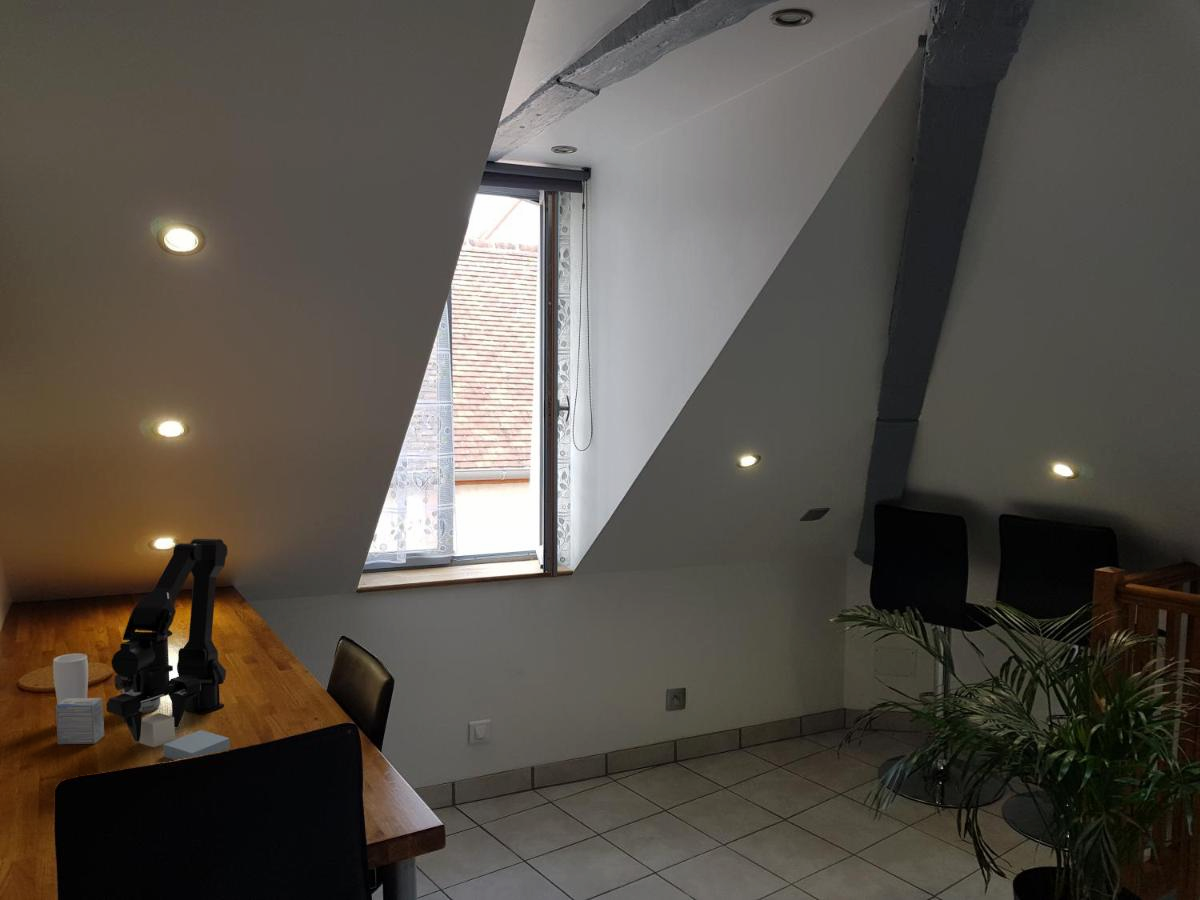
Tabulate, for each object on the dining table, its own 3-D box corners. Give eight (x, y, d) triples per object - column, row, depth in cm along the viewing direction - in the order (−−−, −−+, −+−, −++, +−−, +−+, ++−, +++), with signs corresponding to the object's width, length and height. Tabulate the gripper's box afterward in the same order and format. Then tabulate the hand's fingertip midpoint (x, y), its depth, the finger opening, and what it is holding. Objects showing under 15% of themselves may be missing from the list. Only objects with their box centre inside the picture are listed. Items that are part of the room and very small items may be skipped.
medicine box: (105, 736, 211) (103, 697, 210) (95, 744, 207) (93, 704, 206) (67, 737, 211) (65, 697, 210) (57, 745, 206) (54, 704, 206)
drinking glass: (86, 727, 216) (83, 660, 215) (52, 730, 214) (49, 663, 213) (93, 716, 223) (90, 652, 221) (60, 719, 221) (56, 654, 219)
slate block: (201, 743, 208) (200, 730, 208) (229, 752, 204) (229, 738, 203) (163, 758, 200) (163, 744, 200) (192, 767, 196) (191, 753, 196)
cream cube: (159, 735, 212) (159, 712, 211) (174, 739, 209) (174, 717, 209) (138, 743, 208) (137, 720, 207) (153, 747, 205) (153, 724, 205)
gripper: (168, 645, 219) (170, 713, 220) (88, 667, 203) (92, 741, 204) (201, 653, 213) (203, 722, 215) (122, 676, 197) (125, 751, 199)
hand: (156, 734), depth 208 cm, fingers open, 9 cm apart
